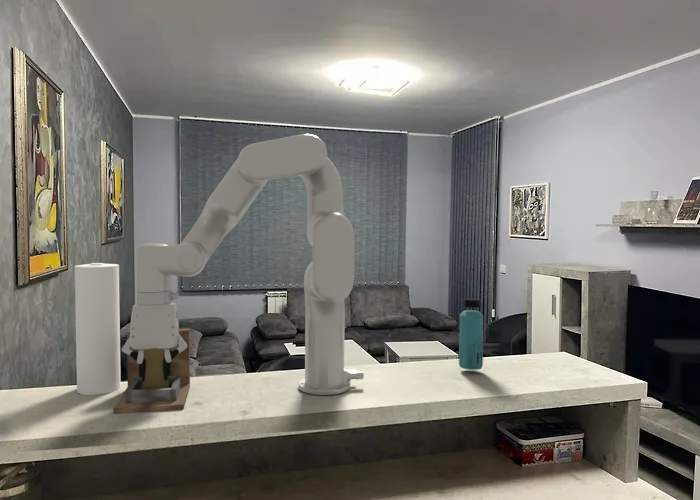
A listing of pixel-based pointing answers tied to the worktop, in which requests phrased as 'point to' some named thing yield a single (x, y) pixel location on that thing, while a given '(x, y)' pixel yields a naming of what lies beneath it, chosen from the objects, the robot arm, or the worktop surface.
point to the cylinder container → (97, 328)
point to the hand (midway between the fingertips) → (155, 378)
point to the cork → (154, 369)
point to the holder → (163, 397)
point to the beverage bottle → (471, 337)
